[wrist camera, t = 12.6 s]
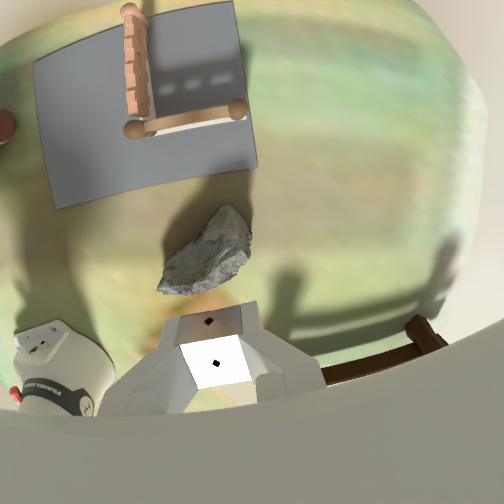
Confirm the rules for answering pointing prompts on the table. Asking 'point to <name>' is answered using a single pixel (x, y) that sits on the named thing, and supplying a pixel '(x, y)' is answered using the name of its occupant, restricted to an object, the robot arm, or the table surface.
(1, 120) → the figurine character
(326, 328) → the table surface
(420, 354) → the decorative fence
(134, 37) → the hinged fence panel
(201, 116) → the fixed fence section
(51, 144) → the card
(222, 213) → the mineral rock
